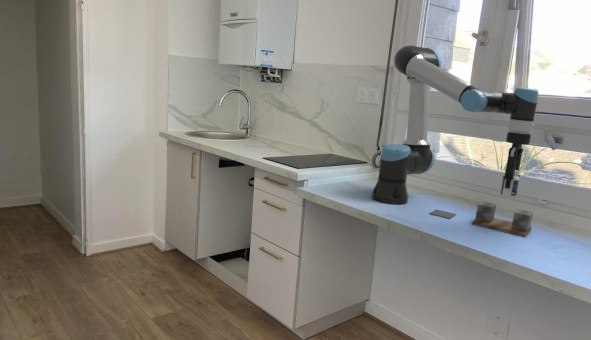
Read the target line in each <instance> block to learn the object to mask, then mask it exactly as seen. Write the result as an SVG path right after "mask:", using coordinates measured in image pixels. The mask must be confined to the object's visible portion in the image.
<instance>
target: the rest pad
mask: <svg viewBox="0 0 591 340" xmlns="http://www.w3.org/2000/svg"><path fill="white" fill-rule="evenodd" d="M429 215H433V216H437V217H440V218H443V219H448V220H451V219H452V218H454V217H455V216H457V214H456V213H454V212H449V211H445V210H442V209H437V208H436V209H434V210H432V211H430V212H429Z"/></svg>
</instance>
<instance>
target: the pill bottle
mask: <svg viewBox="0 0 591 340" xmlns="http://www.w3.org/2000/svg"><path fill="white" fill-rule="evenodd" d="M518 172H520V170H519V171H518V170H515V173H514V177H513V180H514V181H513V186H512V192H511V197H510V198H511V199H514V198H517V194H518V188H519V183H520V176H519V177H517V175H519V174H518ZM503 177H504V175H503V176H502V180H501V181H502V182H501V186H500V192H499V195H500V196H501V197H503V196H502V193H503V187H504V182H505V179H504V178H503ZM510 198H509V199H510Z"/></svg>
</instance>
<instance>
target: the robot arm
mask: <svg viewBox="0 0 591 340" xmlns="http://www.w3.org/2000/svg"><path fill="white" fill-rule="evenodd" d="M395 53H396V54H395V56H394V58H393V59H394V60H393V62H394V66H395V69H396V71H398V72H399V73H401V74H402V75H405V76H406V81H407V82H408V83H409V84H410V85H409V98H408V99H409V100H408V114H407V128H406V129H407V130H406V131H407V132H406V140H404V141H403V142H402V144H400V143H399V144H398V143H397V144H395V143H393V144H386V145H384V146H383V147H382V148H381V149H382V150H381V154H380V161H379V169H378V170H379V172H378V176H377V177H378V178H377V181H376V183H375V186H374V188H373V189H372V192H371V193H372V194H371V198H372V199H373V200H375V201H377V202H380V203H384V204H388V205H389V204H391V205H403V204H407V203H408V201H409V194H408V189H407V178H408V175H420V174H426V173H427V172H428V171H430V170H431V169H433V166H434V163H435V153H434V152H433V150H432V149H431V143H430V142H429V141H428V128H429V116H430V114H429V113H430V102H431V101H430V100H431V90H432V89H435V90H437V92H440V93H441V94H443V95H444V96H446V97H449V98H450V99H452V100H453V101H456V102H457V103H458V104H460V105H461V107H462V109H463V110H465V111H467V112H471V113H494V114H495V113H496V114H506V115H507V114H508V115H510V117H509V120H508V121H509V122H508V125H507V126H508V128H507V130H508V132H507V134H506V138H505V139H506V142H507V143H509V144H512V145H511V147H510V148H509V150H508V155H507V162H506V167H505V172H504V175H503V176H504V177H503V176H502V179H503V178H504V179H505V182H504V187H503V193H502V196H501V197H504V198H508V199H510V197H511V192H512V186H513V181H514V180H513V177H514V173H515V170H518V171H519V172H520V166H521V160H522V156H523V152H524V148H523V146H524V145H530V143H531V136H532V135H531V134H530V133H532V131H533V130H532V129H533V128H534V127H535V123H534V120H535V114H536V111H537V105H538V103H539V102H538V99H539V90H538V89H537V88H529V87H516V88H515V89H514V92H504V91H503V92H502V91H494V90H483V89H480V88H479V87H477V86H475V85H473V84H472V83H469V82H468V81H466V80H464V79H462V78H460V77H459V76H456V75H454V74H452V73H451V72H449V71H446V70H445V69H443V68H442V64H443V63H442V58H441V56H440V54H439V53H438V52H437V51H436V50H434V49H432V48H429V47H422V46H416V45H404V46H403V47H401V48H400V49H398V50H397V52H395ZM431 88H432V89H431ZM519 172H518V175H517V177H519V178H520V176H521V175H519V174H520V173H519Z"/></svg>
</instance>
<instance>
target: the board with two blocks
mask: <svg viewBox="0 0 591 340" xmlns="http://www.w3.org/2000/svg"><path fill="white" fill-rule="evenodd" d="M496 207H497V203H494V202H493V203H492V202H488V201H485V200H482V201H481V202H480V203H478V204H477V207H476V212H475V213H476V215H475V217H474V219H473V220H472V225H474V226H477V227H478V226H479V227H481V228H482V227H483V228H488V229H491V230H495V231H497V232H498V231H499V232H501V233H502V232H503V233H508V234H511V235H515V236H520V237H524V238H527V236H528V235H529V233H530V232H531V230H532V227H533V226H531V224H532V219H533V215H534V214H533V213H534V212H533V211H530V210H527V209H526V210H525V209H519V208H517V209H516V210H515V211H514V213H513V217H512V221H510V220H506V219H502V218H497V217H495V214H496V209H497V208H496Z"/></svg>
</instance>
